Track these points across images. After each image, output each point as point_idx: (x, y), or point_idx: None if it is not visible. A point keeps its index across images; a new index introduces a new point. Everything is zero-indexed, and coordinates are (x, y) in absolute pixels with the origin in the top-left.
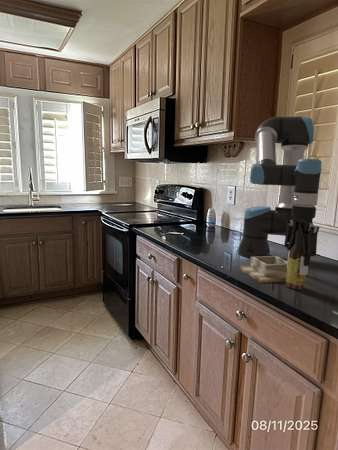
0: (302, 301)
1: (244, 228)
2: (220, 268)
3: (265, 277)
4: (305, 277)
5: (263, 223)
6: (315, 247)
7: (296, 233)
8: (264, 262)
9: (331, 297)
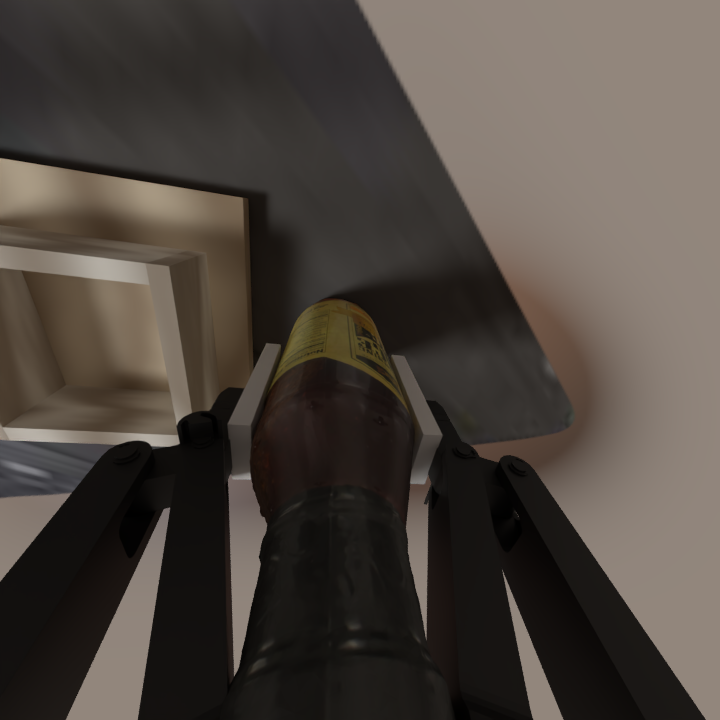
0: (451, 400)
1: None
2: (56, 481)
3: None
4: (378, 334)
5: None
6: (574, 546)
7: None
8: (6, 333)
9: (486, 263)
